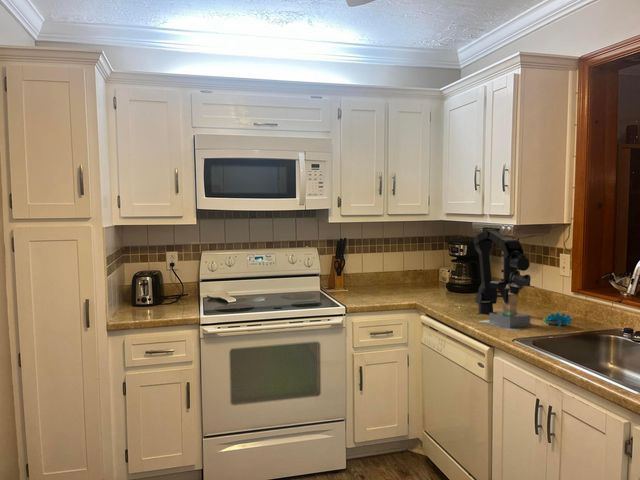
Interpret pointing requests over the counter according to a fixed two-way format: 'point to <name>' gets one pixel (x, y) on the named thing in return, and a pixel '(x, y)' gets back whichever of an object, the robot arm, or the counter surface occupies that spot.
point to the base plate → (505, 328)
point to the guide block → (509, 319)
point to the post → (510, 305)
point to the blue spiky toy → (558, 319)
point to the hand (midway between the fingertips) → (509, 302)
